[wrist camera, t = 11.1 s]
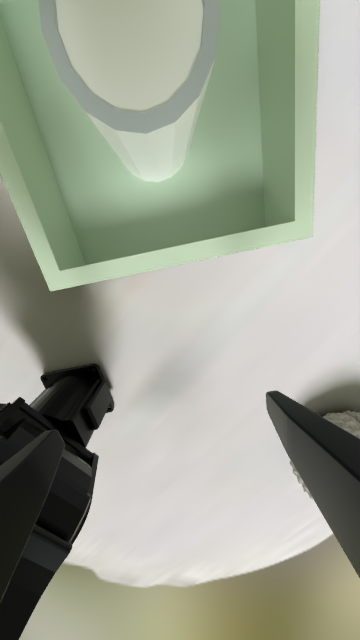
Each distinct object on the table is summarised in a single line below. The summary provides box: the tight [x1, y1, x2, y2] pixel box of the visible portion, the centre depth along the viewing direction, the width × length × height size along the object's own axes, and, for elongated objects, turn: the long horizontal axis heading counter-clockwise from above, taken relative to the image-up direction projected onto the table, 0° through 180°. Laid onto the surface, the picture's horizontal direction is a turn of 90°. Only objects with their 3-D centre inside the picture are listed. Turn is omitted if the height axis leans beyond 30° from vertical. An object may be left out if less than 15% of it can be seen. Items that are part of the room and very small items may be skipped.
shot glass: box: [38, 0, 220, 182], centre depth 10 cm, size 7×7×7 cm
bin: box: [0, 0, 320, 292], centre depth 12 cm, size 18×18×5 cm
